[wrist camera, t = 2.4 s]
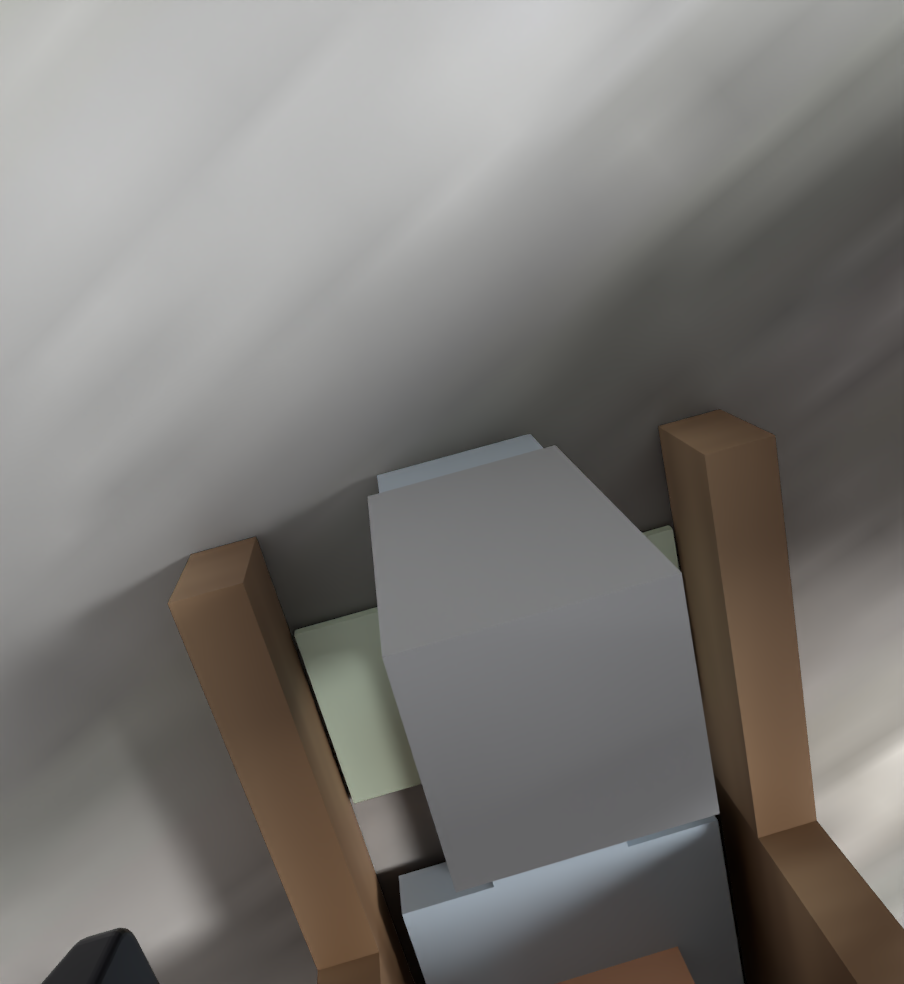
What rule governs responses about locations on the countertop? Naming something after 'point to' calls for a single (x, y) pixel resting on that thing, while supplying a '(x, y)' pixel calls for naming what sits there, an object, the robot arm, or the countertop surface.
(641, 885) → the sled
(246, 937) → the countertop surface
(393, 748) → the tunnel channel
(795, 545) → the countertop surface
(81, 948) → the robot arm
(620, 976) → the block
